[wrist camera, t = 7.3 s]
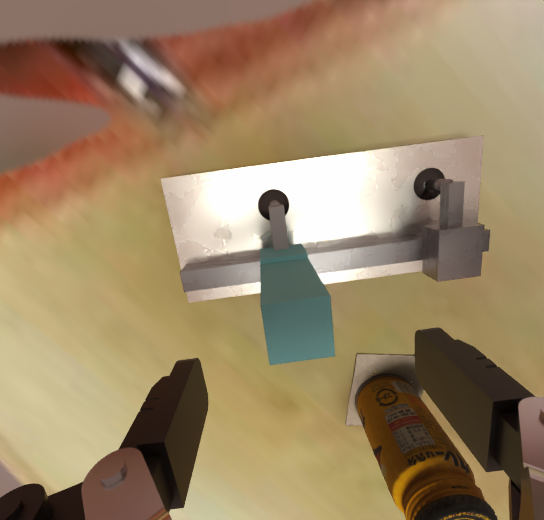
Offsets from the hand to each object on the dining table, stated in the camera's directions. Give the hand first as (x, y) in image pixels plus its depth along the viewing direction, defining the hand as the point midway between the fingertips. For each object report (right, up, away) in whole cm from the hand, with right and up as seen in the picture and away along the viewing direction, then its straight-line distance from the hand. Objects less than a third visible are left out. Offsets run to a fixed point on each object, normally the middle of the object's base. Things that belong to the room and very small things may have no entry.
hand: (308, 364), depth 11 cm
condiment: (+10, -9, +19) cm, 23 cm away
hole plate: (+3, +7, +13) cm, 15 cm away
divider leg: (-1, +5, +12) cm, 13 cm away
